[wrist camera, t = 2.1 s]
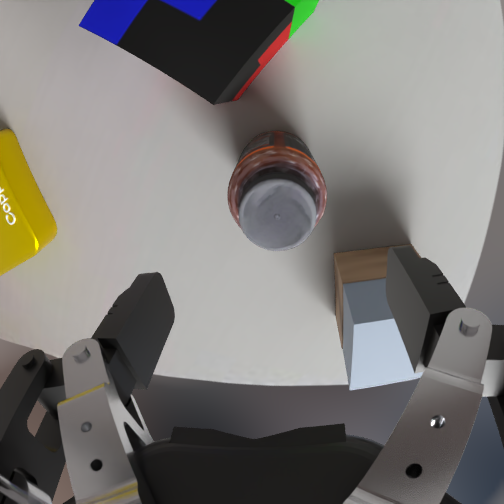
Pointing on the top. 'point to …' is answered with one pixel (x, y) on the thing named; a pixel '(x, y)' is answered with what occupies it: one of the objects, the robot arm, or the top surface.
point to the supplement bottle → (277, 191)
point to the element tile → (20, 208)
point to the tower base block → (357, 273)
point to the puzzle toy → (201, 37)
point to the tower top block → (372, 338)
